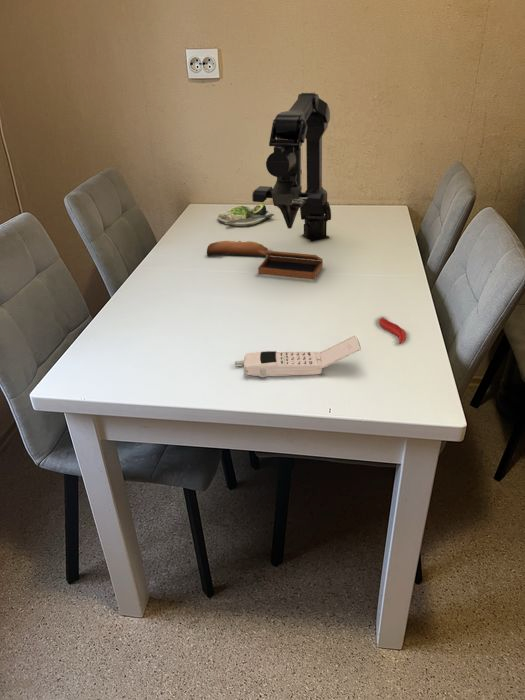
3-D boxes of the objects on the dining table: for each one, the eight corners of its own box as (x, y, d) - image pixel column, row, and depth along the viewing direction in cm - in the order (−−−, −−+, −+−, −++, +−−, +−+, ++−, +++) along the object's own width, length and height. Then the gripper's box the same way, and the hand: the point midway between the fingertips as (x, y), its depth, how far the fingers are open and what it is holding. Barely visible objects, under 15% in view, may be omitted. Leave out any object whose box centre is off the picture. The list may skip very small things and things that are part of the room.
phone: (312, 277, 151) (312, 274, 151) (262, 272, 155) (262, 269, 155) (318, 267, 157) (318, 264, 156) (270, 263, 161) (270, 260, 160)
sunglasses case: (270, 247, 172) (268, 233, 166) (267, 266, 168) (265, 252, 163) (213, 246, 175) (209, 231, 169) (209, 264, 171) (205, 250, 166)
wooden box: (314, 281, 150) (315, 273, 149) (258, 276, 155) (258, 267, 154) (322, 269, 158) (322, 260, 156) (268, 264, 162) (267, 255, 161)
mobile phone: (362, 349, 108) (232, 353, 109) (360, 375, 111) (234, 379, 112) (357, 334, 114) (233, 338, 114) (355, 359, 117) (235, 363, 117)
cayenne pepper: (409, 343, 121) (410, 335, 120) (388, 344, 121) (389, 336, 120) (396, 317, 132) (397, 310, 131) (376, 318, 132) (377, 311, 131)
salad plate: (244, 233, 185) (243, 219, 183) (205, 223, 195) (204, 210, 193) (279, 217, 198) (279, 204, 196) (241, 209, 208) (240, 196, 205)
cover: (315, 256, 147) (315, 254, 147) (257, 251, 152) (258, 249, 152) (322, 260, 156) (322, 259, 156) (267, 255, 161) (268, 254, 161)
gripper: (243, 173, 137) (246, 235, 145) (318, 177, 132) (316, 240, 140) (258, 163, 146) (260, 222, 154) (328, 166, 141) (326, 227, 149)
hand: (289, 228), depth 149 cm, fingers closed
